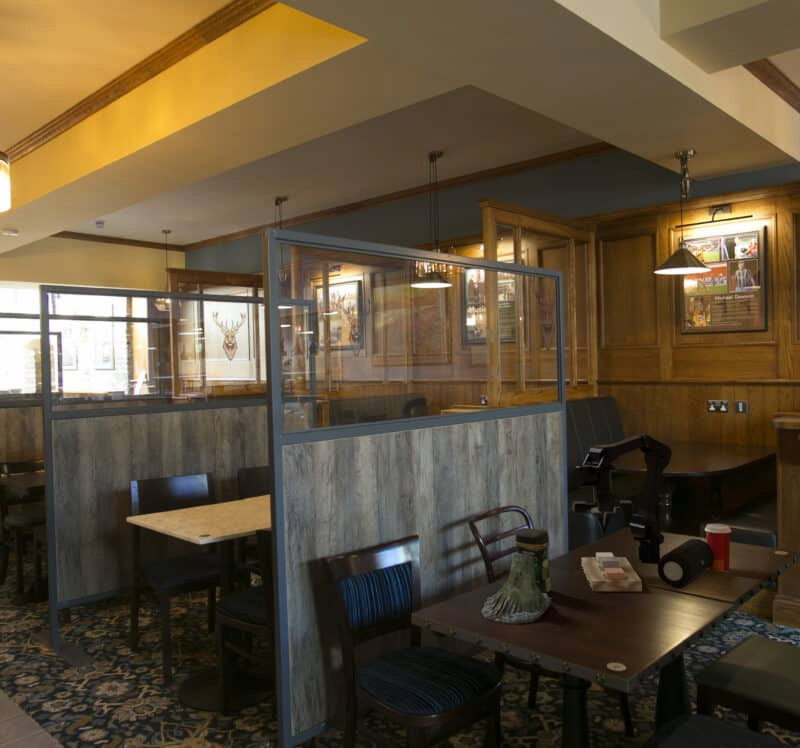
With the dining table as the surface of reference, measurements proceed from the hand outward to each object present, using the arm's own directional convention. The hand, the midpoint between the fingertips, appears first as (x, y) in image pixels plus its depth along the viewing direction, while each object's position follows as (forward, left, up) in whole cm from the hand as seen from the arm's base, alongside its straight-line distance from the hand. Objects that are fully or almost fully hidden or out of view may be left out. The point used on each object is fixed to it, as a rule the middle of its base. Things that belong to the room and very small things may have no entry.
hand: (603, 533), depth 229 cm
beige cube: (0, 0, -13) cm, 13 cm away
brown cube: (0, +18, -13) cm, 22 cm away
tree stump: (+30, +39, -12) cm, 50 cm away
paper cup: (-35, +1, -12) cm, 37 cm away
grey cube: (0, +9, -11) cm, 14 cm away
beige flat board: (0, +9, -12) cm, 15 cm away
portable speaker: (-23, +10, -12) cm, 27 cm away
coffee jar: (+24, +22, -12) cm, 35 cm away
